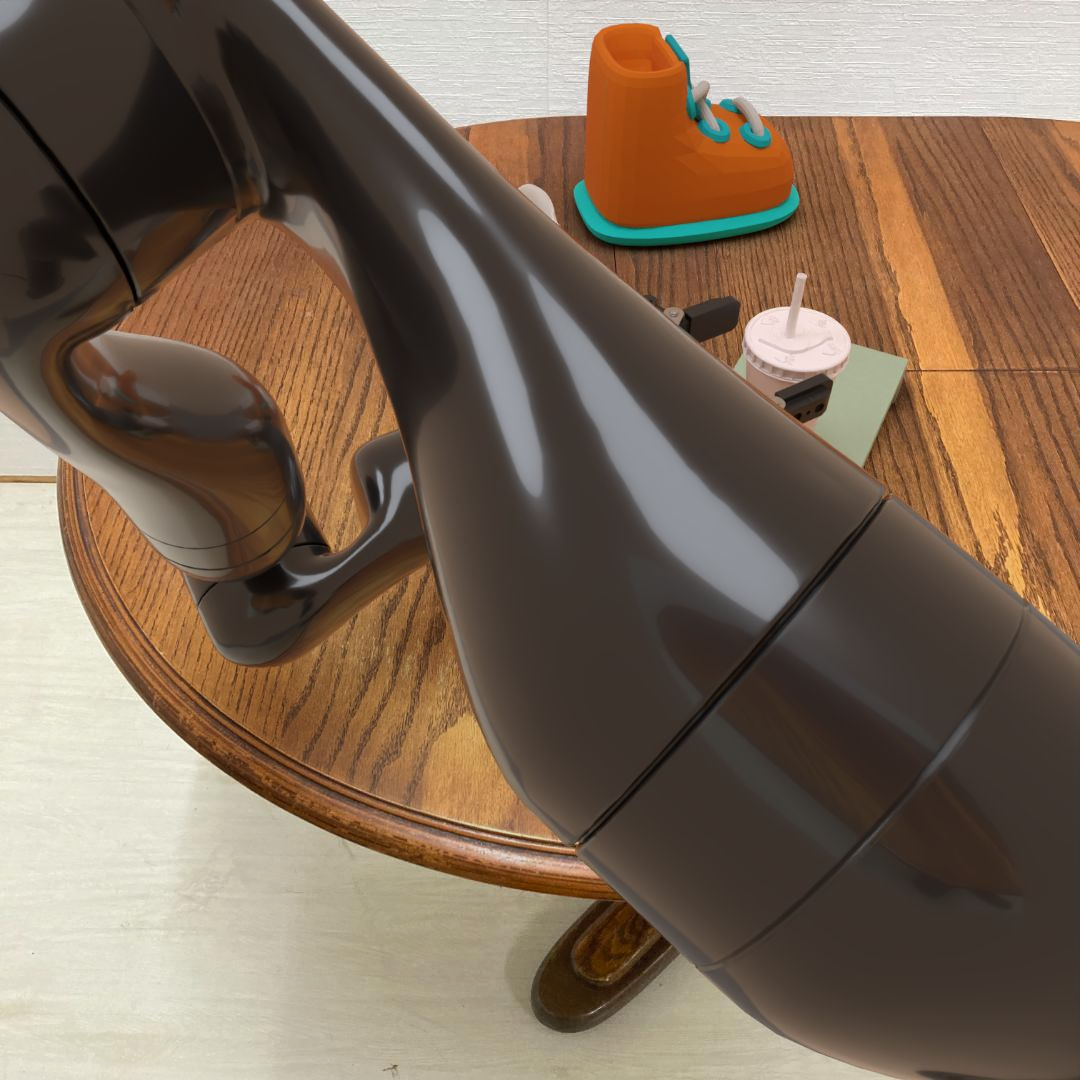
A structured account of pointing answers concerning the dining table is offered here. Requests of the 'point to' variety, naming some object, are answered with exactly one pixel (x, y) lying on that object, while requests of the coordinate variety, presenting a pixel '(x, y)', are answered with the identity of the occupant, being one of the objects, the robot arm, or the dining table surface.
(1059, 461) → the dining table surface
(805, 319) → the smoothie
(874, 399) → the shelf
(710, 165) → the toy shoe
